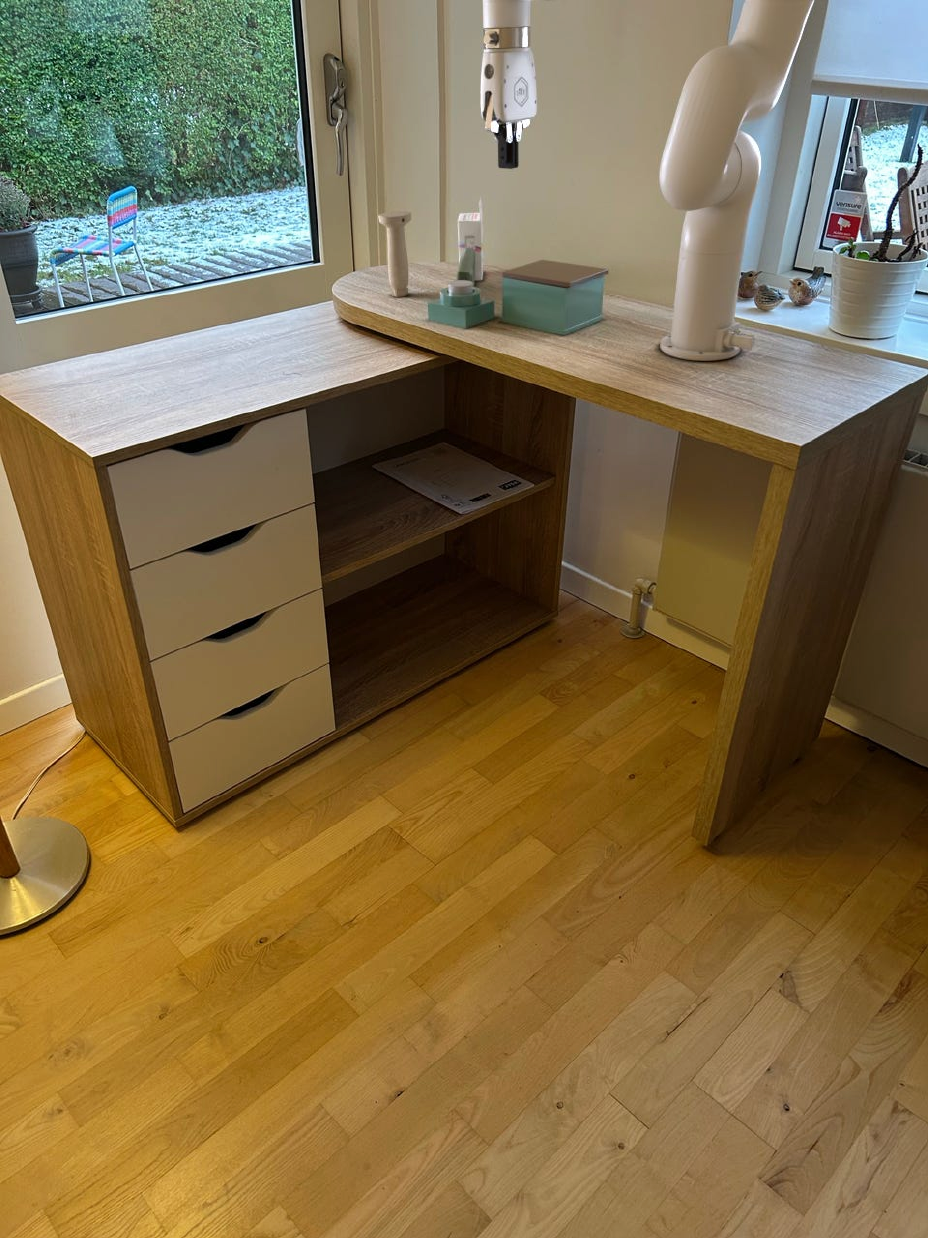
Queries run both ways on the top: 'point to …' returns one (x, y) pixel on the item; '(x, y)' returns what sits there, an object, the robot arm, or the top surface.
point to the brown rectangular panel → (555, 273)
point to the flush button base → (461, 309)
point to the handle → (397, 250)
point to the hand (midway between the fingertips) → (508, 167)
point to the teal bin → (552, 305)
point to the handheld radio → (467, 266)
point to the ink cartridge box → (472, 237)
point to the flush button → (460, 287)
